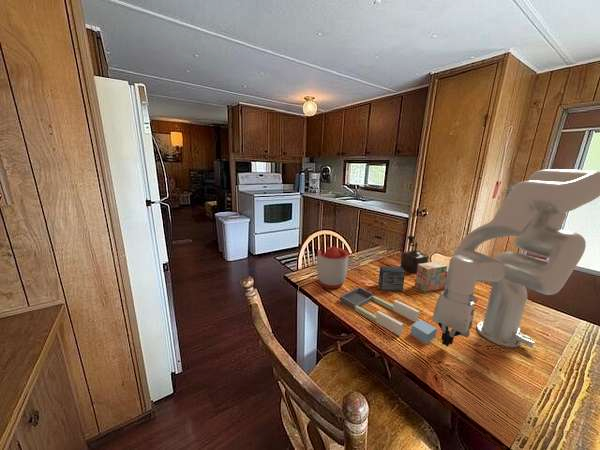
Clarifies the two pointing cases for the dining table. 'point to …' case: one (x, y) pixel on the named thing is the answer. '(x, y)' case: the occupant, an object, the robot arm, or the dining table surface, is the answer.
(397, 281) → the small box
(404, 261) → the black upright piece
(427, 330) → the block
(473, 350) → the dining table surface
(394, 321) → the two-pronged grey tray
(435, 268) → the stack of blocks
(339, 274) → the citrus juicer
